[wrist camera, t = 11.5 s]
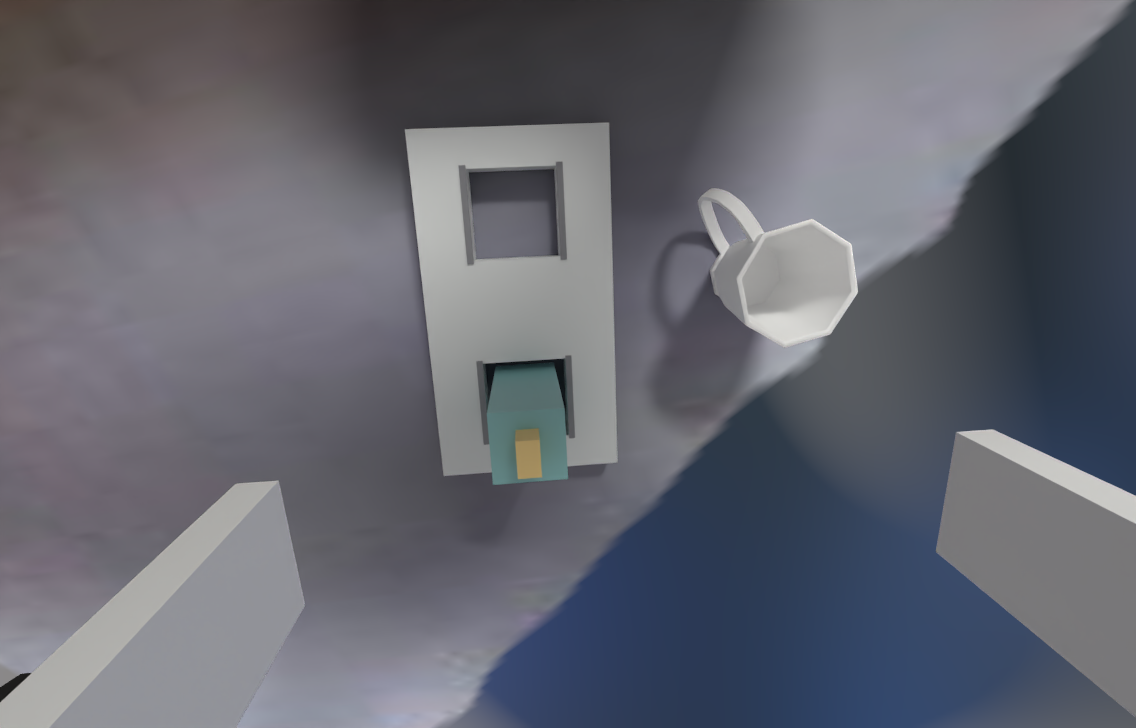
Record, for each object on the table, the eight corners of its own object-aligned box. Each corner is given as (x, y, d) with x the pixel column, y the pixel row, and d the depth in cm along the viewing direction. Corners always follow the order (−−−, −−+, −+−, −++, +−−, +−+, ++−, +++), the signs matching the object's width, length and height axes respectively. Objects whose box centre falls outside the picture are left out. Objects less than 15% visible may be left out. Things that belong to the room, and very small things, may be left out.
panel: (411, 135, 33) (404, 128, 31) (604, 128, 34) (609, 122, 32) (447, 463, 38) (443, 476, 36) (612, 451, 39) (617, 463, 37)
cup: (727, 344, 38) (779, 373, 30) (644, 230, 36) (679, 230, 28) (807, 281, 37) (883, 295, 30) (729, 161, 35) (789, 141, 27)
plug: (495, 365, 37) (484, 424, 26) (553, 362, 37) (567, 418, 26) (500, 420, 38) (491, 499, 27) (556, 416, 38) (570, 493, 27)
